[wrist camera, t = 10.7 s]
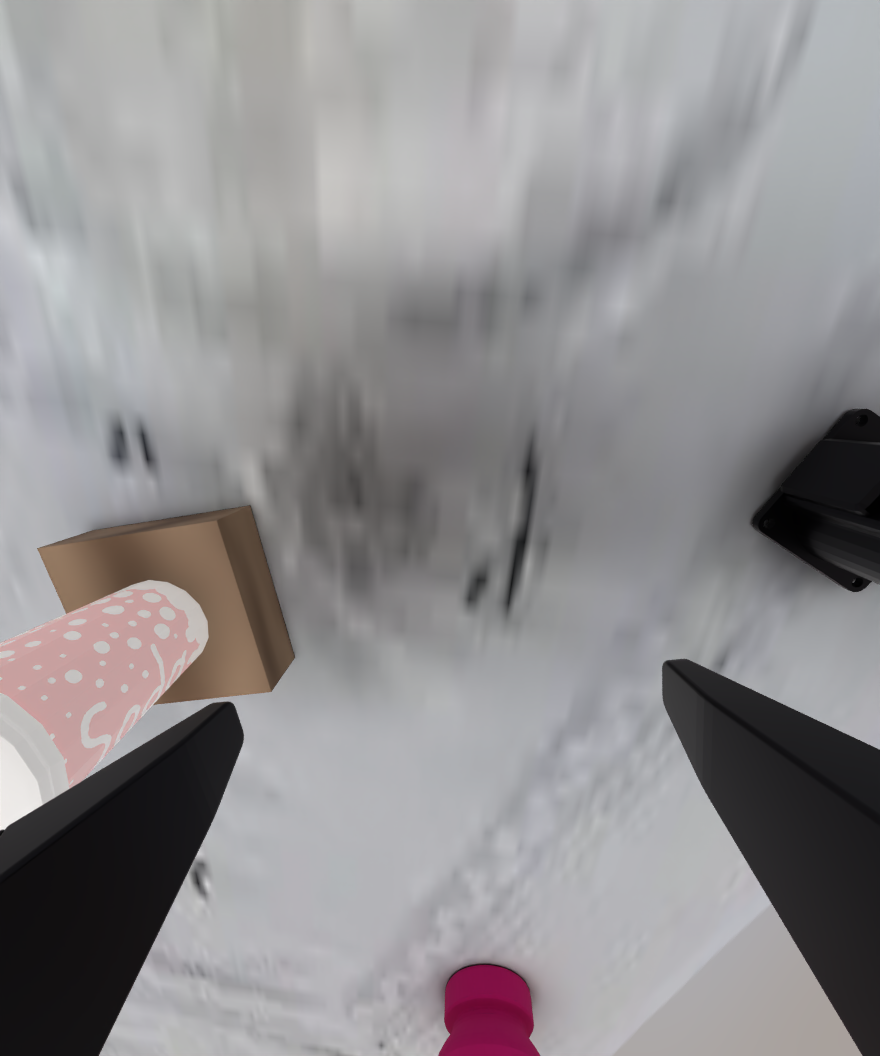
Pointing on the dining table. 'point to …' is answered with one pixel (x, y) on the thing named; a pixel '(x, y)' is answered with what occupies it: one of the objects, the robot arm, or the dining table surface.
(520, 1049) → the pepper mill
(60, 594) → the walnut block
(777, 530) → the robot arm
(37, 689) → the beverage cup
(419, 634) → the dining table surface
